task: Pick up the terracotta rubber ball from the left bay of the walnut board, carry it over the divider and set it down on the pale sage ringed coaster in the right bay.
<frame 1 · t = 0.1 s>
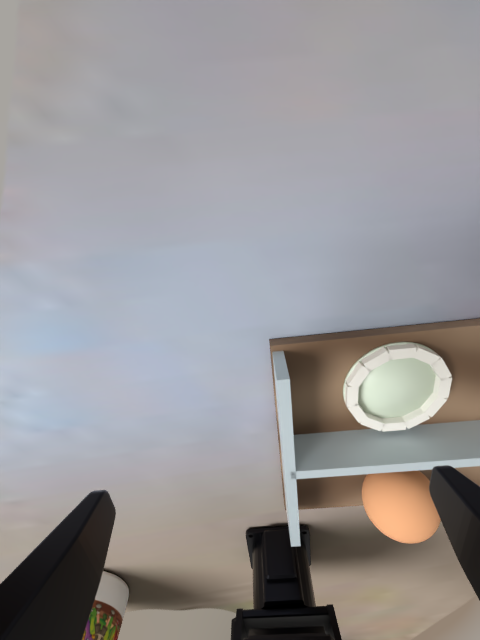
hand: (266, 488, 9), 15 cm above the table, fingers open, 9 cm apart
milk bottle: (99, 583, 37), on the table
board: (383, 422, 26), on the table
ball: (399, 500, 25), point 4 cm above the table, touching board
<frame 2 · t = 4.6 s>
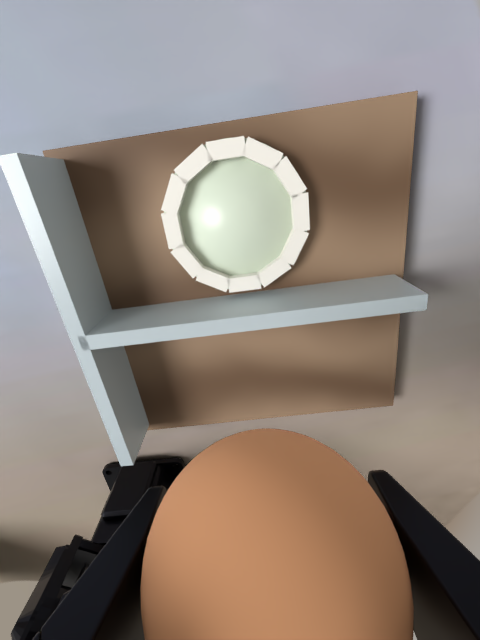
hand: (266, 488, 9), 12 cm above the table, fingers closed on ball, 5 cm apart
board: (246, 293, 19), on the table
ball: (271, 560, 7), point 14 cm above the table, touching gripper
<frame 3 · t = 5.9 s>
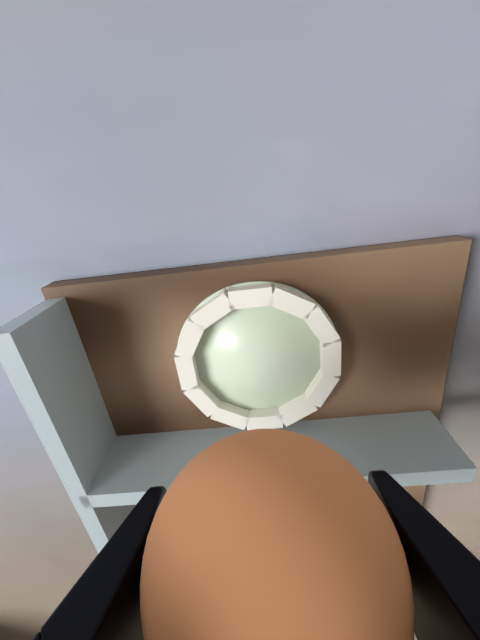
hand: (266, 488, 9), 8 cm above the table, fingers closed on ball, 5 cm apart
board: (264, 416, 17), on the table
ball: (271, 561, 7), point 10 cm above the table, touching gripper
when the fingers open (4 cm above the table, at t = 7.1 s): ball drops 1 cm, resting on board.
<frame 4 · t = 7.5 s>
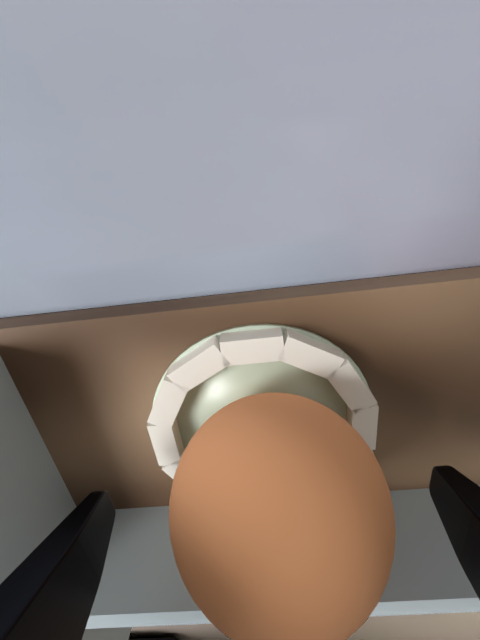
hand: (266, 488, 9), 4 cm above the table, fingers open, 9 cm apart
board: (269, 483, 14), on the table
ball: (277, 501, 8), point 4 cm above the table, tilted 6°, touching board
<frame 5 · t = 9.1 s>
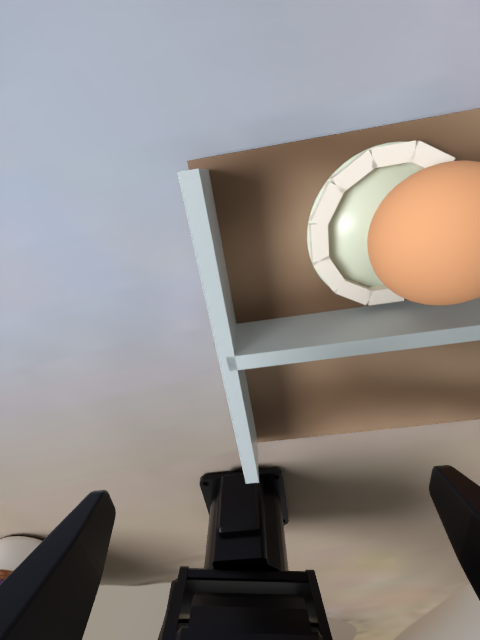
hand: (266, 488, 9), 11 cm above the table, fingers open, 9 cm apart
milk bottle: (32, 554, 30), on the table
board: (373, 304, 18), on the table
ball: (441, 237, 13), point 4 cm above the table, tilted 24°, touching board
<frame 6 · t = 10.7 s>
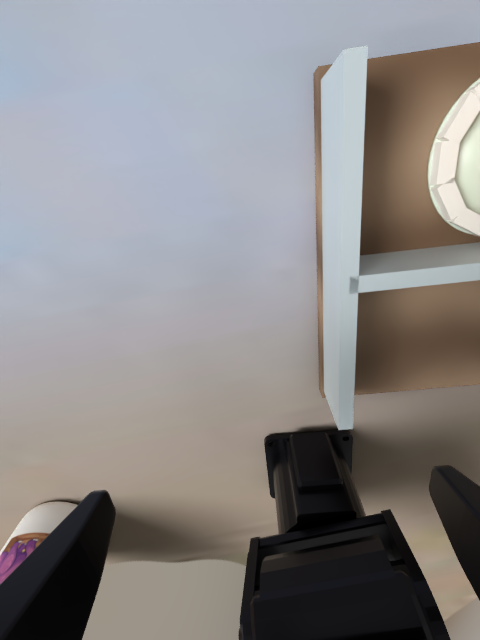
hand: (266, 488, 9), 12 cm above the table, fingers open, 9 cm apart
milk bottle: (69, 524, 29), on the table
board: (476, 244, 18), on the table
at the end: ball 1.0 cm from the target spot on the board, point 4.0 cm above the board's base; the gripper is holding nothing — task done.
